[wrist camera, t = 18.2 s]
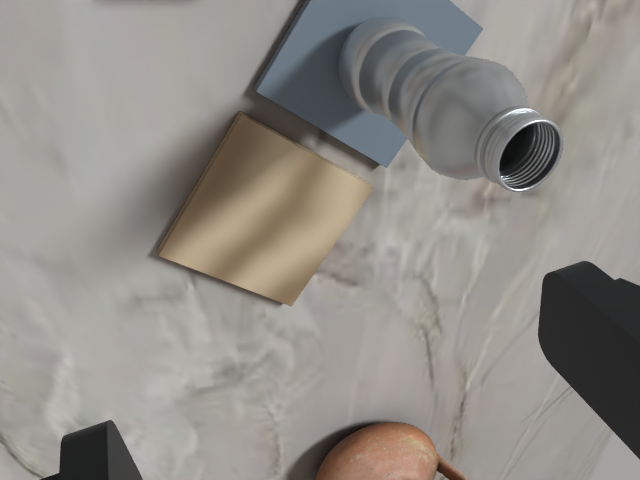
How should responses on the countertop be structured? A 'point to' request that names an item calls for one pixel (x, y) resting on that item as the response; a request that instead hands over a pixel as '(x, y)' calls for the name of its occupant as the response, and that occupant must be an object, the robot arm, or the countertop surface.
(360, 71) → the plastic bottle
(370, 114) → the slate mat
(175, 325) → the countertop surface
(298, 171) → the oak mat
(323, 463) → the ceramic jug
